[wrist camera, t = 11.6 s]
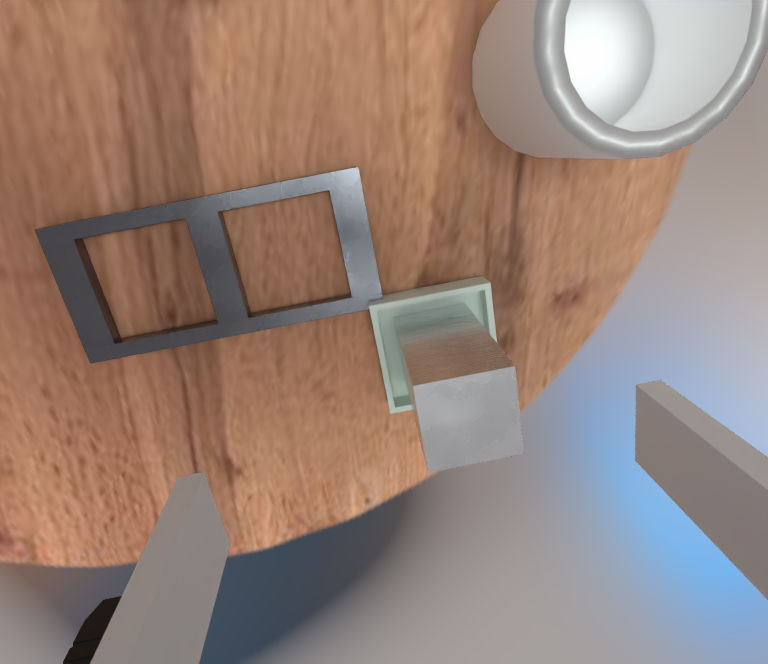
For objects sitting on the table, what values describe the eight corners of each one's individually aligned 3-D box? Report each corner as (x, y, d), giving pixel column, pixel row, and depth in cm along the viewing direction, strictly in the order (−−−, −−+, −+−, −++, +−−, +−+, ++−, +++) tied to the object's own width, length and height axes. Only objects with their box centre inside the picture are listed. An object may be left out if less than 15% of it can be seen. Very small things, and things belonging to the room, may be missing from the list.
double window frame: (97, 357, 34) (90, 363, 34) (43, 227, 31) (34, 229, 30) (383, 302, 35) (384, 306, 34) (357, 166, 32) (358, 166, 31)
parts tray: (388, 400, 37) (390, 413, 35) (367, 298, 34) (369, 306, 33) (494, 379, 37) (502, 391, 35) (482, 275, 34) (490, 282, 33)
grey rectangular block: (405, 381, 36) (428, 472, 26) (393, 316, 34) (412, 386, 24) (473, 368, 36) (523, 453, 26) (464, 302, 34) (515, 366, 24)
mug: (448, -78, 28) (505, -210, 18) (630, -121, 28) (791, -278, 18) (484, 174, 32) (546, 182, 22) (640, 137, 32) (772, 130, 22)
